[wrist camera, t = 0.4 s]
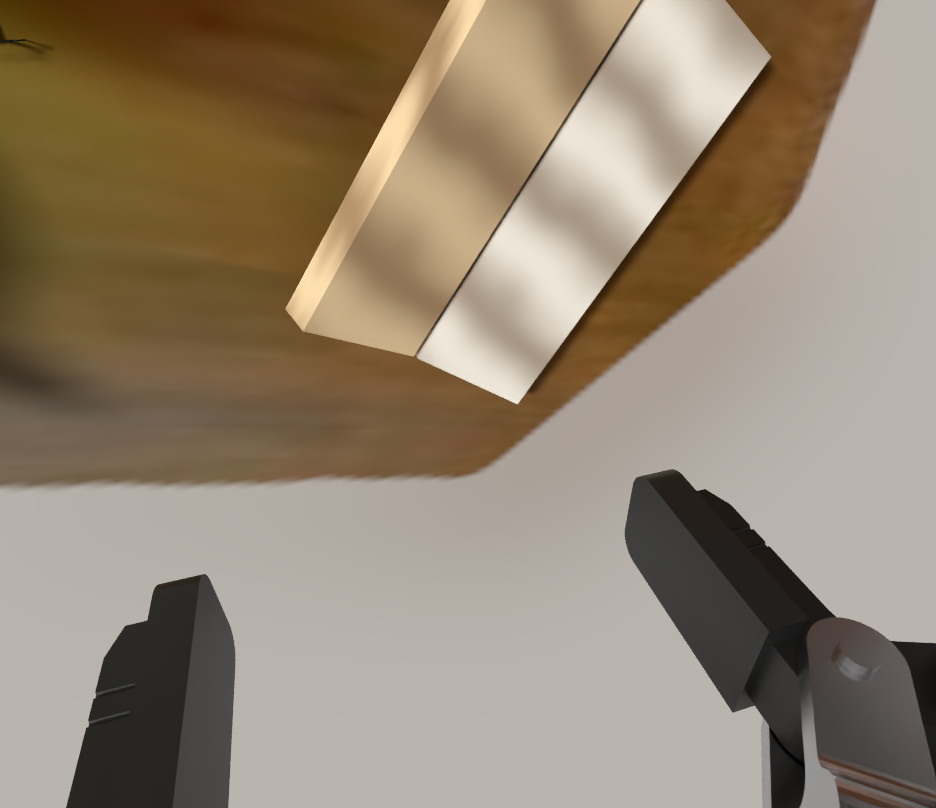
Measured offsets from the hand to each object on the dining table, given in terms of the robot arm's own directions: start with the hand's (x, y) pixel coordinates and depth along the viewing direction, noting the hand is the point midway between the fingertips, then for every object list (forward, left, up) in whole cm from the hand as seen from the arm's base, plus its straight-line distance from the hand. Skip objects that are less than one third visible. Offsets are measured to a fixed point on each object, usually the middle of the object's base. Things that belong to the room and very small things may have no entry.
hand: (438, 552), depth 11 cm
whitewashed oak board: (-7, +12, -25) cm, 29 cm away
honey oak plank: (-7, +4, -23) cm, 24 cm away
